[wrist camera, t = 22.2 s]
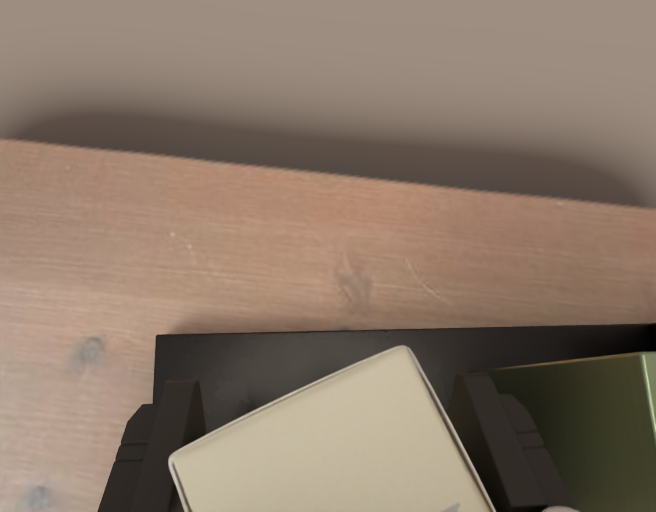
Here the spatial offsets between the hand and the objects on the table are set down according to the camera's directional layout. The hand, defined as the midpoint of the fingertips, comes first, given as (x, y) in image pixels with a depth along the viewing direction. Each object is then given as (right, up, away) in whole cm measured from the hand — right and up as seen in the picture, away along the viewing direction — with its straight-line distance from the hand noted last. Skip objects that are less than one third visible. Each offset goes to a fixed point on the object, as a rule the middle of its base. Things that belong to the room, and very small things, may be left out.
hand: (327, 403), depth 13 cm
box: (0, -4, +9) cm, 10 cm away
